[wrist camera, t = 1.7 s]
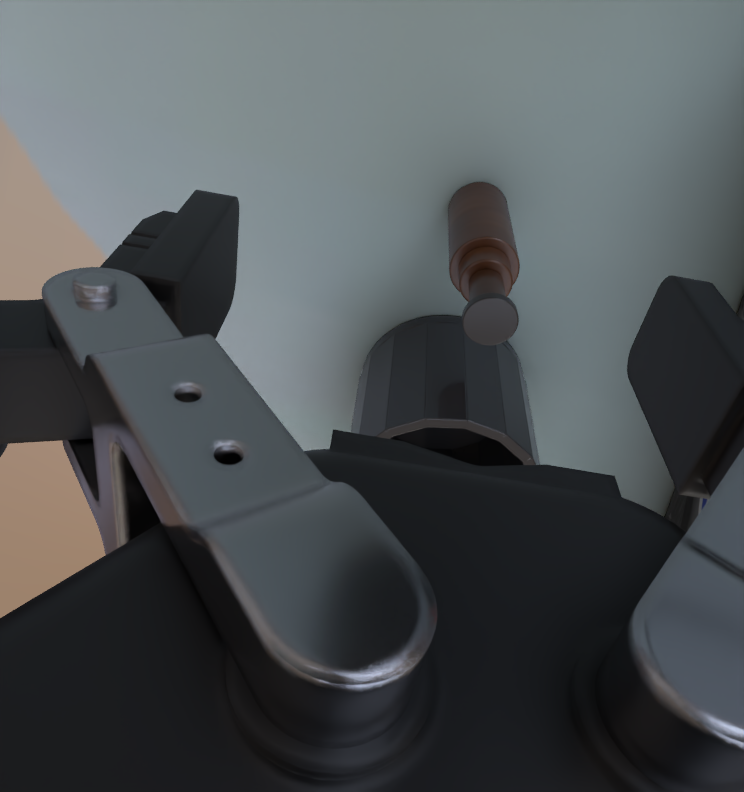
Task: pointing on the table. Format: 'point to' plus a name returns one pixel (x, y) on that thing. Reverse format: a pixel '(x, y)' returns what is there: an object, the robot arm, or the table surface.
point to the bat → (483, 261)
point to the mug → (447, 394)
